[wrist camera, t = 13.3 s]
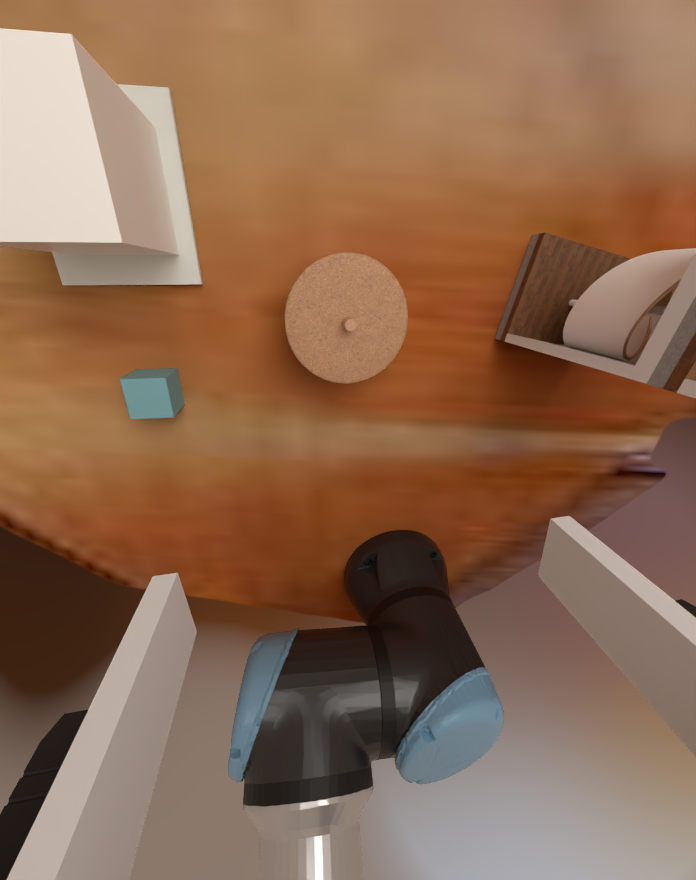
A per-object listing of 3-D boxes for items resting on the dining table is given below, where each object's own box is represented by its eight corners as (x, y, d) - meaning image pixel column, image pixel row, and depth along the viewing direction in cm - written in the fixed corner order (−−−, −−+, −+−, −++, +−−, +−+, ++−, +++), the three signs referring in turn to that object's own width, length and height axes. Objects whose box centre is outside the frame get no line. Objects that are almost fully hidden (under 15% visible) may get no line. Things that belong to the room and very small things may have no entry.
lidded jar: (267, 280, 34) (260, 280, 26) (369, 240, 34) (395, 228, 26) (308, 379, 39) (313, 407, 31) (398, 344, 39) (427, 363, 30)
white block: (179, 254, 32) (122, 242, 21) (71, 254, 31) (-48, 241, 20) (155, 127, 28) (71, 34, 17) (31, 121, 27) (-143, 17, 16)
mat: (202, 284, 34) (201, 284, 33) (66, 285, 32) (62, 285, 31) (170, 91, 28) (168, 87, 27) (1, 80, 26) (-5, 76, 25)
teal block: (184, 404, 38) (173, 417, 35) (145, 405, 38) (130, 419, 34) (177, 368, 37) (165, 378, 33) (136, 369, 36) (119, 379, 32)
